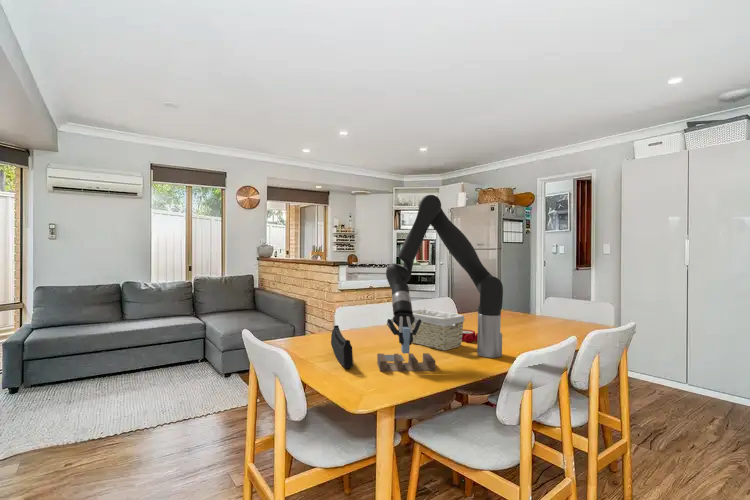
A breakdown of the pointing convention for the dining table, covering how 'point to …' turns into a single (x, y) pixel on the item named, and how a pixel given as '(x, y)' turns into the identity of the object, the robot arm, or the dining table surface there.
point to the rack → (412, 363)
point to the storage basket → (438, 329)
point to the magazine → (341, 348)
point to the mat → (392, 357)
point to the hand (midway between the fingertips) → (406, 343)
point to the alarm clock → (469, 336)
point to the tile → (405, 340)
